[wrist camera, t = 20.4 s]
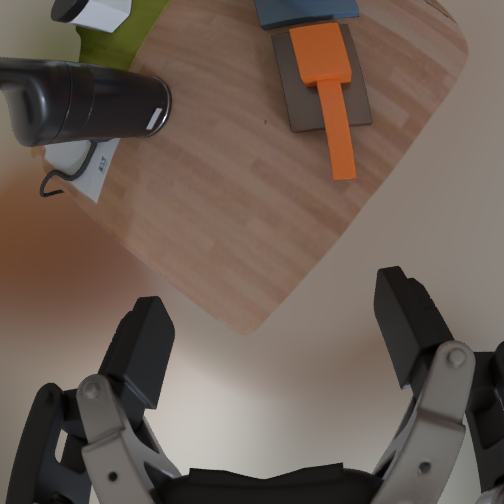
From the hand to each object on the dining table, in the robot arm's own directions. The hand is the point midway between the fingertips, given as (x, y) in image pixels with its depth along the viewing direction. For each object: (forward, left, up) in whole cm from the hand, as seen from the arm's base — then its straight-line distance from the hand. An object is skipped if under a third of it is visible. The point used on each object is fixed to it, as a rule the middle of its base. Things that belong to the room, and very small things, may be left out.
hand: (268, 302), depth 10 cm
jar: (-27, +39, -25) cm, 53 cm away
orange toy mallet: (+3, +10, -23) cm, 25 cm away
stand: (+3, +28, -25) cm, 37 cm away
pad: (+2, +14, -25) cm, 29 cm away
